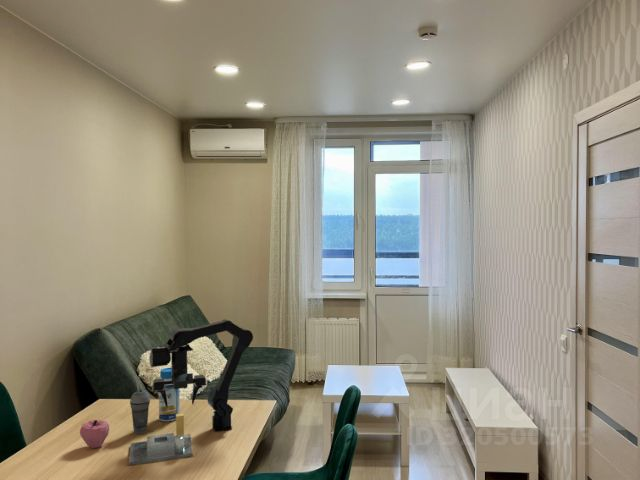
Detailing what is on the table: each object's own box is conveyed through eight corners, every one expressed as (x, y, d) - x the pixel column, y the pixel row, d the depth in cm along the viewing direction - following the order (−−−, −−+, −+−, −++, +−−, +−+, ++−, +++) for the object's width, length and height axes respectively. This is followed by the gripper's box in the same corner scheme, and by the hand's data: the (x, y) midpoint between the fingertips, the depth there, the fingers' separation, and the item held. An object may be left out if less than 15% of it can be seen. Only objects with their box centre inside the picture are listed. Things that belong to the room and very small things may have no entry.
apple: (114, 443, 179) (114, 415, 179) (96, 453, 171) (96, 424, 171) (93, 440, 182) (93, 412, 182) (74, 449, 174) (74, 421, 174)
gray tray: (189, 438, 183) (188, 421, 183) (192, 456, 168) (192, 438, 168) (130, 446, 177) (130, 429, 177) (129, 465, 162) (128, 446, 161)
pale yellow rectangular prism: (183, 434, 187) (183, 413, 187) (183, 437, 184) (183, 415, 184) (176, 435, 186) (176, 414, 186) (176, 438, 183) (176, 416, 183)
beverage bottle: (184, 417, 205) (184, 368, 205) (168, 423, 198) (167, 373, 198) (170, 413, 210) (170, 365, 210) (154, 419, 203) (153, 370, 203)
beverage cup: (143, 436, 186) (143, 382, 186) (126, 434, 187) (125, 381, 187) (154, 428, 193) (153, 377, 193) (137, 427, 194) (136, 376, 194)
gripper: (153, 371, 174) (153, 415, 174) (207, 366, 180) (207, 409, 180) (152, 363, 185) (153, 405, 185) (204, 359, 191) (204, 400, 191)
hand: (179, 405), depth 185 cm, fingers open, 9 cm apart
